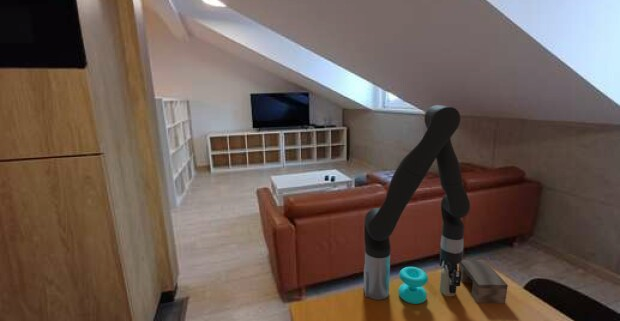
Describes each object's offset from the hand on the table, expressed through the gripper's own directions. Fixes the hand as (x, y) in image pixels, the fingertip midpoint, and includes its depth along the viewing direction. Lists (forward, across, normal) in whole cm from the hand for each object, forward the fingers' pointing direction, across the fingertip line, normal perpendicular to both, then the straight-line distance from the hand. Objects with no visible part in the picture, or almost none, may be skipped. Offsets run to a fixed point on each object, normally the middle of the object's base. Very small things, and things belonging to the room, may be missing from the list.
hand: (448, 285), depth 115 cm
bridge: (+3, -2, +13) cm, 13 cm away
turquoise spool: (+3, +3, -14) cm, 15 cm away
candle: (+3, 0, 0) cm, 3 cm away
